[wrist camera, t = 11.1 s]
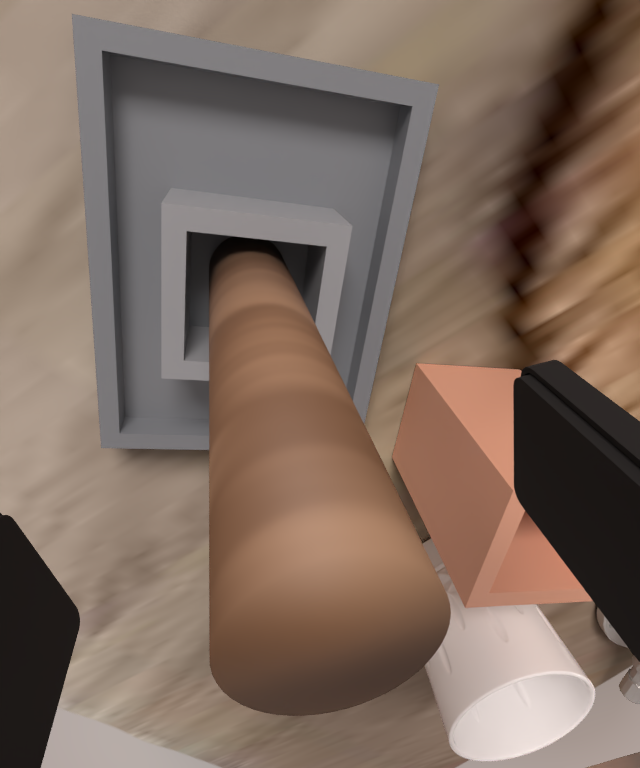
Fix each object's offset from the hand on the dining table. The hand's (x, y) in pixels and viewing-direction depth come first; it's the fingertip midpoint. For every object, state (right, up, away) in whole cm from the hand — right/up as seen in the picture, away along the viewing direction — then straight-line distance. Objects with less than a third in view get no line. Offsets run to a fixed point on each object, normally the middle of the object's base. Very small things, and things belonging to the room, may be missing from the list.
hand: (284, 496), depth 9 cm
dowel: (-2, +7, +12) cm, 14 cm away
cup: (+8, 0, +19) cm, 20 cm away
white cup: (+9, -10, +25) cm, 28 cm away
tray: (-3, +7, +13) cm, 15 cm away
